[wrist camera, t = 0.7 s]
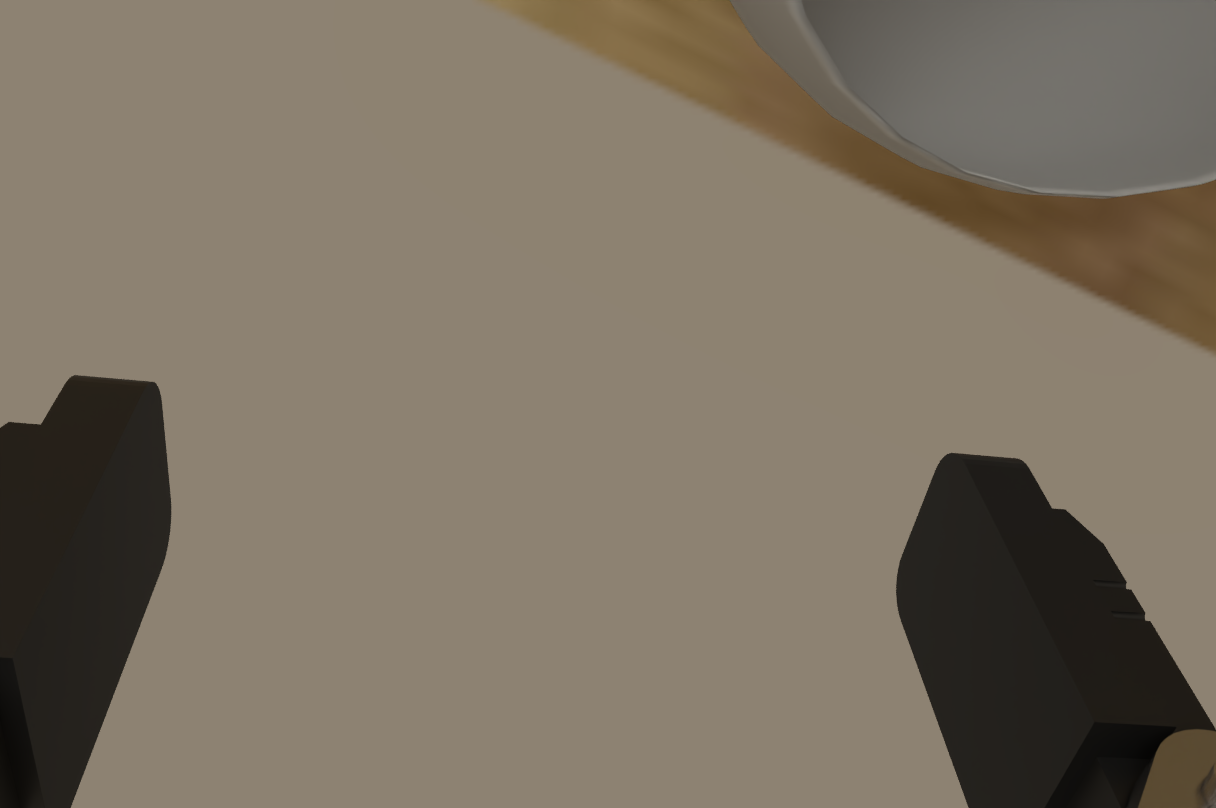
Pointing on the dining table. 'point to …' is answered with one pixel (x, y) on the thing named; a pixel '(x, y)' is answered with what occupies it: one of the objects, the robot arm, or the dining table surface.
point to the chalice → (1013, 86)
